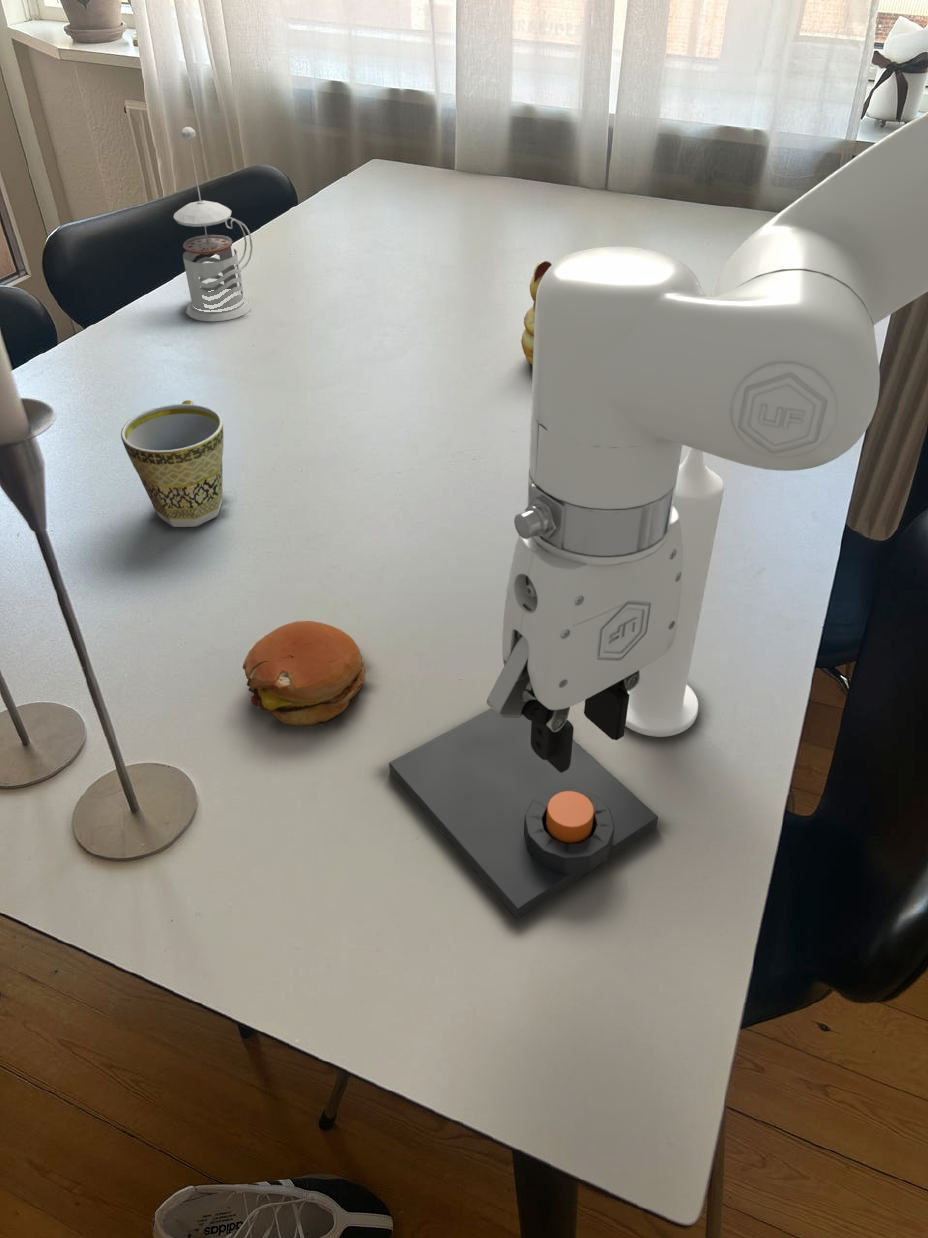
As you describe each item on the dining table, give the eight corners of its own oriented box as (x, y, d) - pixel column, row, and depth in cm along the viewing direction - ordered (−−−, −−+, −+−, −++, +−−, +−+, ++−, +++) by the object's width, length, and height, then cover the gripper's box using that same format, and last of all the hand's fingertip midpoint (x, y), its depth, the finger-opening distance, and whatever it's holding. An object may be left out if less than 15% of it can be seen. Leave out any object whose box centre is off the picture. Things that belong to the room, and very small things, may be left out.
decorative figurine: (538, 383, 125) (543, 268, 116) (506, 359, 131) (508, 247, 121) (599, 367, 129) (609, 253, 119) (566, 344, 134) (572, 234, 125)
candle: (593, 704, 80) (622, 438, 64) (648, 665, 84) (688, 403, 68) (660, 751, 76) (709, 479, 60) (714, 708, 80) (774, 440, 64)
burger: (365, 647, 86) (361, 607, 83) (365, 724, 79) (360, 682, 76) (254, 654, 85) (245, 614, 82) (243, 731, 78) (233, 690, 75)
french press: (174, 307, 146) (136, 126, 130) (240, 287, 152) (212, 112, 136) (206, 326, 140) (171, 140, 124) (274, 305, 146) (249, 124, 130)
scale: (662, 832, 70) (667, 805, 68) (522, 925, 64) (523, 899, 62) (521, 702, 80) (522, 676, 79) (389, 772, 75) (387, 746, 73)
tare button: (601, 828, 67) (603, 812, 66) (566, 851, 66) (568, 835, 65) (571, 799, 69) (573, 783, 68) (536, 820, 68) (537, 804, 67)
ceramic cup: (229, 536, 99) (212, 450, 93) (132, 537, 99) (108, 452, 93) (249, 470, 109) (234, 389, 103) (161, 471, 109) (141, 390, 103)
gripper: (518, 596, 44) (510, 843, 56) (763, 480, 52) (710, 720, 63) (427, 522, 49) (437, 764, 61) (663, 425, 56) (631, 658, 68)
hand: (577, 739), depth 62 cm, fingers open, 3 cm apart
